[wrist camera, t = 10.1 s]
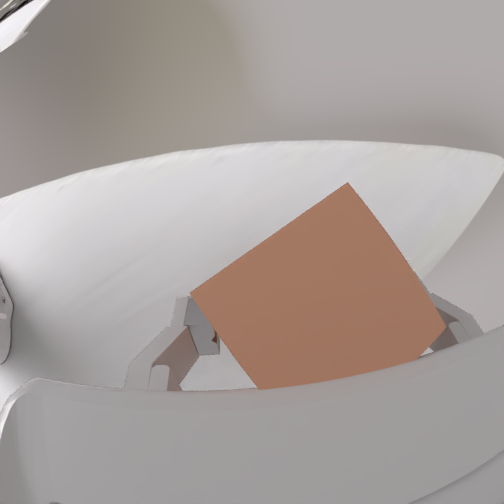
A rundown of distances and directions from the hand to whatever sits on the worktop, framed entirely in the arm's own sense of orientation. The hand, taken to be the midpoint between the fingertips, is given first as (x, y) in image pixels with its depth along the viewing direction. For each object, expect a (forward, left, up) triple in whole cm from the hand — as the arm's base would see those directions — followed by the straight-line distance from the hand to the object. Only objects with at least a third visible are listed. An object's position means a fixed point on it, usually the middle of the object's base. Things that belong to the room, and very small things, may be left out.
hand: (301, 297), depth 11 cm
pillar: (+1, 0, -5) cm, 5 cm away
